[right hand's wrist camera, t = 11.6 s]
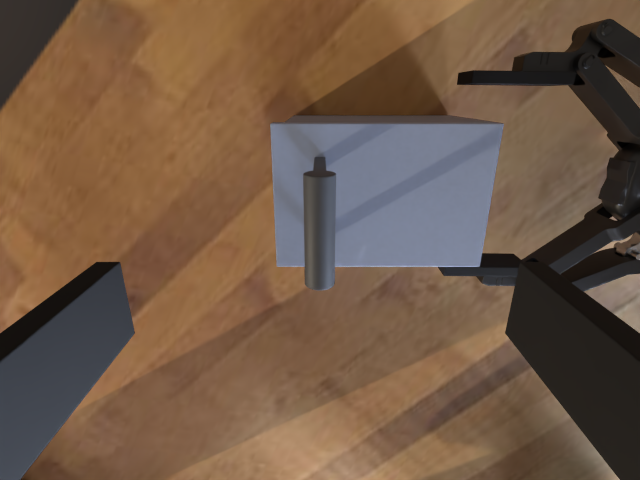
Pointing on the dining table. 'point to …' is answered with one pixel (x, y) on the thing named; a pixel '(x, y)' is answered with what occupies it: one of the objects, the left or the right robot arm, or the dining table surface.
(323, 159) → the lid
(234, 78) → the dining table surface
